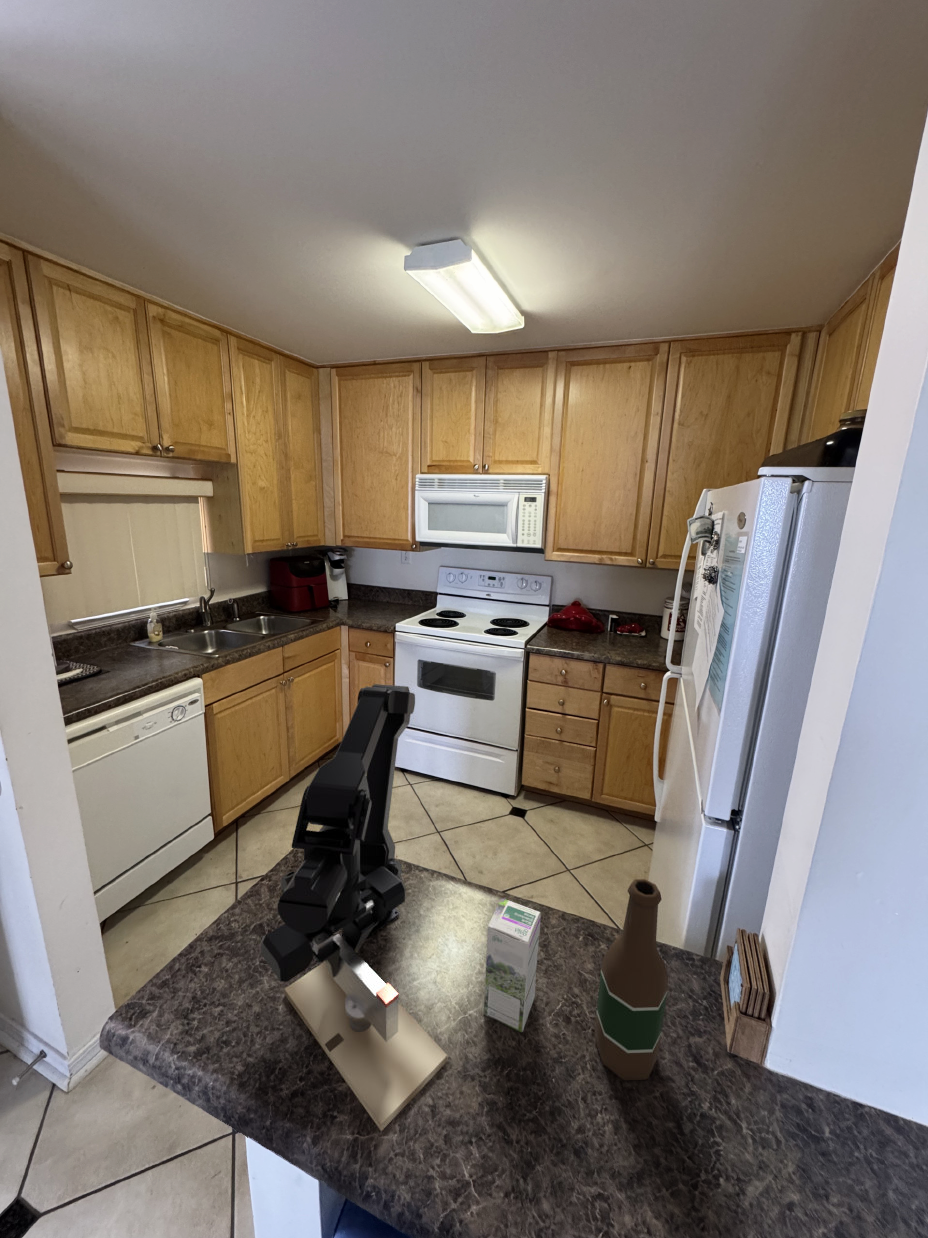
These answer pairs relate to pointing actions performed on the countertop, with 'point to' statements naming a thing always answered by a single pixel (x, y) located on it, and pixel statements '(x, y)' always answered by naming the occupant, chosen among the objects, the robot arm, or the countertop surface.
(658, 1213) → the countertop surface
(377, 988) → the grey rectangular bar
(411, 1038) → the post board
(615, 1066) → the beer bottle
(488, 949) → the syrup box
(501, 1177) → the countertop surface
